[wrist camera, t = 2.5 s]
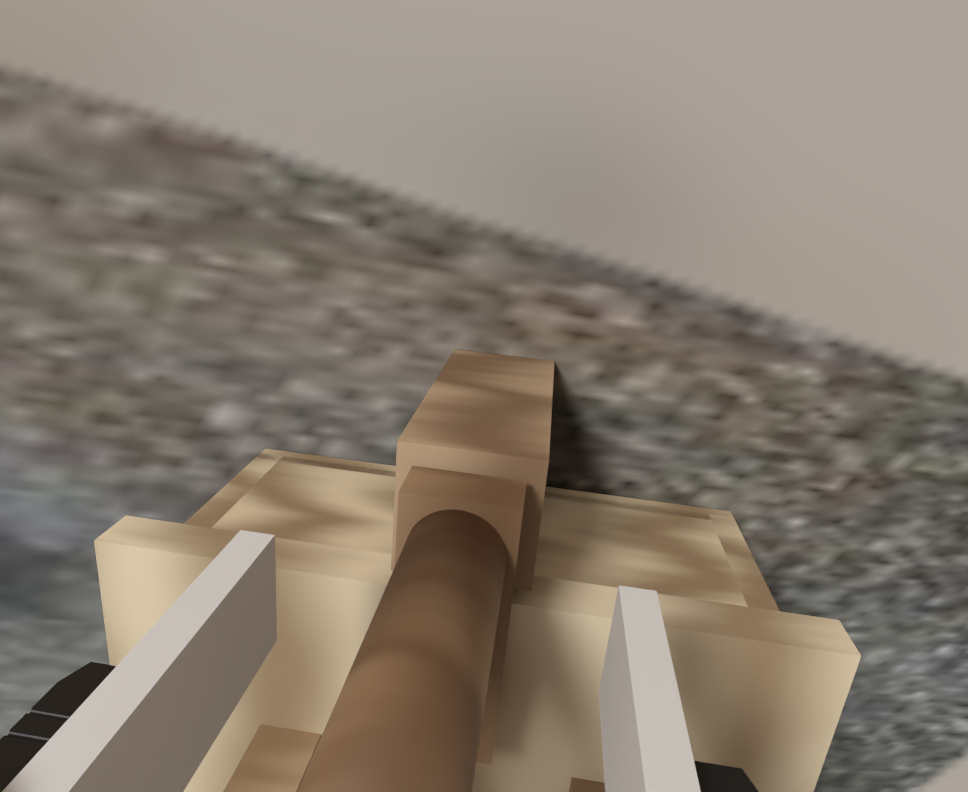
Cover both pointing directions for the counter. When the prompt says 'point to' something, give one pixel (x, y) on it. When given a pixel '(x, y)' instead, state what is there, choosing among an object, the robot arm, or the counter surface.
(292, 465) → the toolbox
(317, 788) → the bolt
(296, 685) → the lid
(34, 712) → the robot arm
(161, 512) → the counter surface
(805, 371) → the counter surface
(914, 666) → the counter surface
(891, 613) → the counter surface
